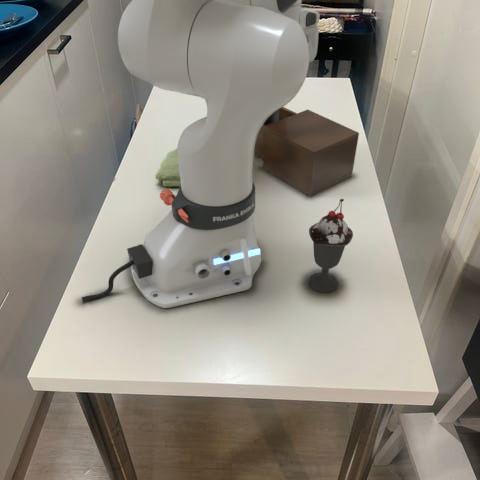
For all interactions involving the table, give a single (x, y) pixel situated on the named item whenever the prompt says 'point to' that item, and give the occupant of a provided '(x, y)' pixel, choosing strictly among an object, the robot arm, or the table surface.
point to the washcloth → (170, 170)
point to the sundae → (328, 248)
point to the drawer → (273, 118)
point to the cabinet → (309, 151)
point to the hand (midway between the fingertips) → (274, 93)
